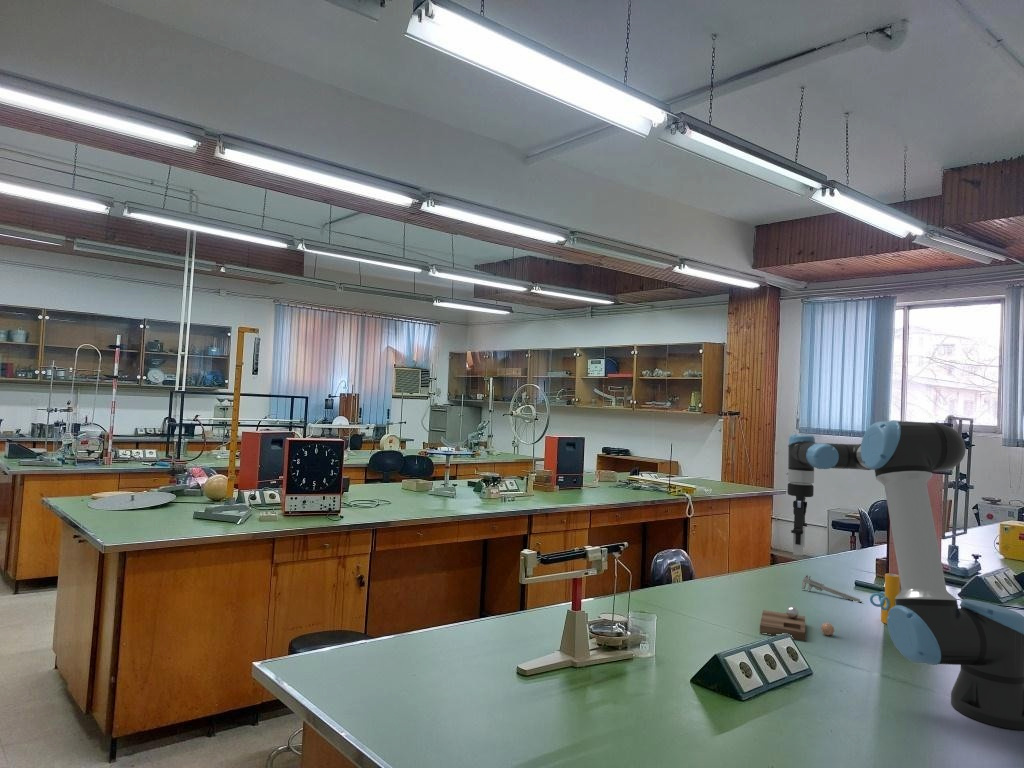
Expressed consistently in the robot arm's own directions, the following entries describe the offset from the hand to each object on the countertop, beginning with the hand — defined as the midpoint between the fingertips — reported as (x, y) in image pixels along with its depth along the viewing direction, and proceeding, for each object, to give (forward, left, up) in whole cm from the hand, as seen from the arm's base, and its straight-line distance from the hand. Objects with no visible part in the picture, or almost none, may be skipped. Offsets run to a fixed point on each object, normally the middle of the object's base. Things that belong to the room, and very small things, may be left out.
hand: (798, 550), depth 200 cm
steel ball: (-8, +1, -17) cm, 19 cm away
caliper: (+37, -11, -22) cm, 44 cm away
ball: (-11, -8, -20) cm, 24 cm away
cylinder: (+13, -27, -22) cm, 37 cm away
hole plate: (-13, +4, -22) cm, 25 cm away
